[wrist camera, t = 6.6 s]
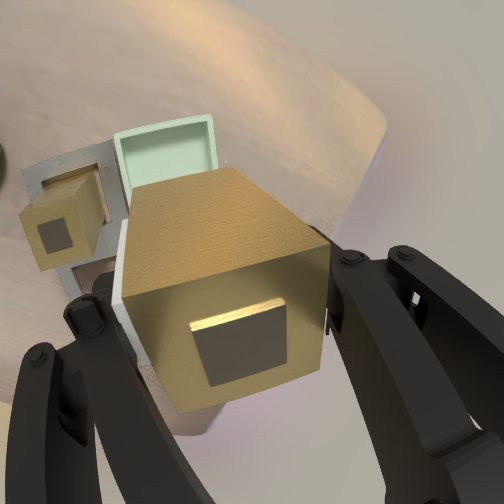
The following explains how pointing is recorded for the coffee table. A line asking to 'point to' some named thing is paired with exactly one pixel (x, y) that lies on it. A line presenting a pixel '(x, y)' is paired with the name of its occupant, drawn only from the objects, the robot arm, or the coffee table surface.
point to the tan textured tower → (64, 221)
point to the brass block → (223, 287)
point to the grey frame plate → (113, 193)
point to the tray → (165, 151)
